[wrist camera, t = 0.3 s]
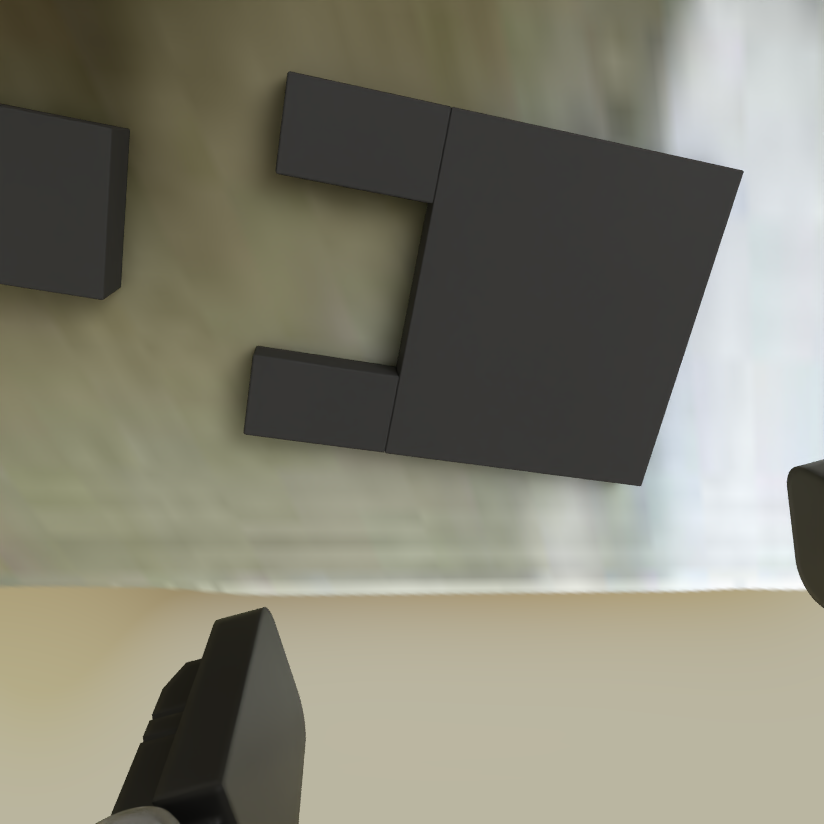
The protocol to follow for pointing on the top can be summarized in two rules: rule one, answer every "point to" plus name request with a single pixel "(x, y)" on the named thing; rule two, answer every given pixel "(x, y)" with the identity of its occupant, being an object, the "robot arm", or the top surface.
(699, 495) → the top surface
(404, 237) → the top surface
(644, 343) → the notched block
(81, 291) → the pad
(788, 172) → the top surface
